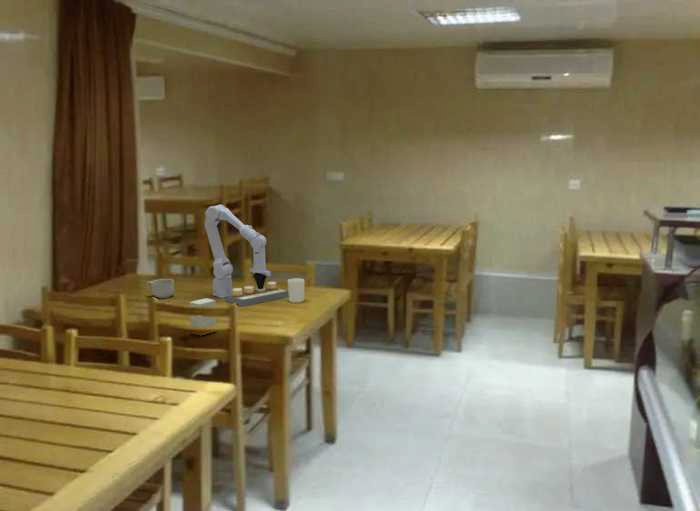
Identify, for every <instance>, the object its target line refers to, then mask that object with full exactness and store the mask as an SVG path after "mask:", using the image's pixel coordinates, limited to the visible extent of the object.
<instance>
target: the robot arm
mask: <svg viewBox="0 0 700 511" xmlns="http://www.w3.org/2000/svg"><path fill="white" fill-rule="evenodd" d="M204 214H205V219H204V228H205V231H206V234H207V238H208V242H209V245H210V247H211V248H210V249H211V252H212V256H213V258H214V261H213V263H212V264H213V265H212V266H213V275H214V277H215V278H213V280H212V287H213V290H212V291H213V293H211V295H212V296H214V297H217V298H220V299H224V298H226V295H230V294H233V291H232V289H233V287H232V286H233V285H232V284H233V282H232V274H233V273H234V267H233V265H232V263H231V261H230V260H229V258H227V255H226V253H225V250H224V247H223V243H222V240H221V236H220V233H219V229H218V224H219V223H220V221H227V222H228V223H229V224H231V225H232V226H234V228H236V229H237V230H238V231H239V235H241V236H242V237H243V238H244V239H245V240H247V241H248V242H249V244H250V246H251V248H252V257H253V258H252V259H253V267H250V268H249V269H248V272H249V273H252V274H253V275H252V277H253V278H254V280H255V282H256V288H258V289H263V288H265V287H264V286H265V282H266V280H267V277H271V276H272V271H270V270H268V269H267V268H266V266H267V265H266V263H267V262H266V245H267V242H268V240H267V238H266V237H265V235H263V234H260V233H259V232H257V231H256V230H255V229H254V228H253V226H252V225H249V224H244V223H243V222H242V221H241V220H240V219H239V218H238V217H237V216H236V215H234V214H233V213H232V212H231V210H230V209H229V208H228V207H226V206H225V205H224V204H217V205H210V206H209V207H208V208H207V209H206V211H205V213H204Z"/></svg>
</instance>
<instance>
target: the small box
mask: <svg viewBox="0 0 700 511" xmlns="http://www.w3.org/2000/svg"><path fill="white" fill-rule="evenodd" d="M188 304H189V308H190V307H216V306H217V305H216V300H215V299H211V298H202V299H197V300H193V301H190V302H188ZM216 308H217V307H216ZM189 316H190V315H189ZM189 319H190V320H189V321H190V327H191V326H194V327H199V328H202V327H207V326H217V327H218V324H217V322H218V321H217V317H216V318H209V317H203V316H201V315H198V316H190V318H189Z"/></svg>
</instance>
